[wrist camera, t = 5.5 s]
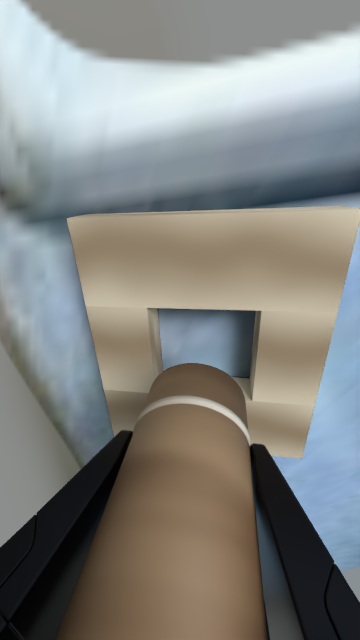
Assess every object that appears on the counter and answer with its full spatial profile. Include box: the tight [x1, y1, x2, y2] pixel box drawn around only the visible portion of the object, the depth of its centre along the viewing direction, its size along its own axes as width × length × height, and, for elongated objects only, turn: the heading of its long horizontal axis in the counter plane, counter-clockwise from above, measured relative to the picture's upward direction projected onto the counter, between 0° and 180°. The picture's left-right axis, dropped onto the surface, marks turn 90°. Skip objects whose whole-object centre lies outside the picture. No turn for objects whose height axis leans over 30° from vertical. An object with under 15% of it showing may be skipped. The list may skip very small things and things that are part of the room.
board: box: [67, 206, 360, 459], centre depth 15 cm, size 14×12×2 cm
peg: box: [55, 363, 268, 640], centre depth 7 cm, size 4×4×8 cm
